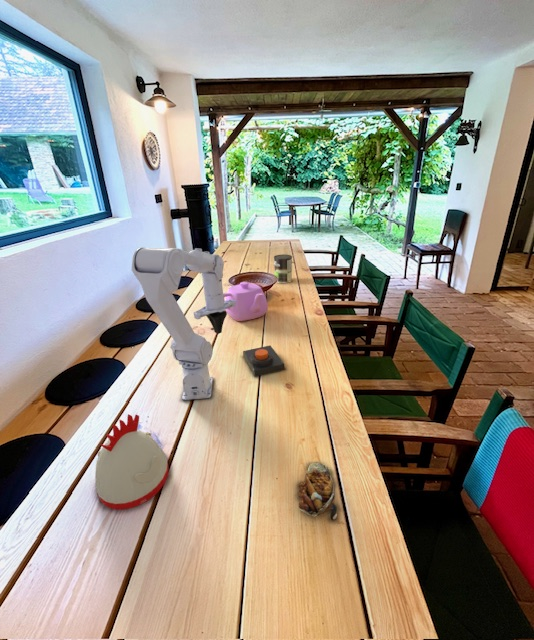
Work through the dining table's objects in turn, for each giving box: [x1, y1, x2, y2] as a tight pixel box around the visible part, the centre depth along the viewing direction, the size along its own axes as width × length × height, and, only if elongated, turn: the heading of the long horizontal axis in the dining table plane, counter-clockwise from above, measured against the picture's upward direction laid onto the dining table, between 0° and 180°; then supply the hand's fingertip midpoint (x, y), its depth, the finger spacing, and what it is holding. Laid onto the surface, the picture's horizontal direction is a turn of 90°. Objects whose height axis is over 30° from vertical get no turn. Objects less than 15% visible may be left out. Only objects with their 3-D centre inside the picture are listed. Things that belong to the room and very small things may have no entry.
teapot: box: [223, 281, 269, 322], centre depth 136 cm, size 23×21×15 cm
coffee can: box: [273, 254, 293, 284], centre depth 183 cm, size 10×10×14 cm
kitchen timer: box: [94, 414, 170, 511], centre depth 64 cm, size 14×14×15 cm
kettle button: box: [255, 349, 268, 360], centre depth 102 cm, size 4×4×2 cm
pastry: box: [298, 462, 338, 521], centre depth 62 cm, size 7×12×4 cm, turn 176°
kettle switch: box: [242, 345, 286, 377], centre depth 105 cm, size 13×10×4 cm
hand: (218, 332), depth 105 cm, fingers closed
